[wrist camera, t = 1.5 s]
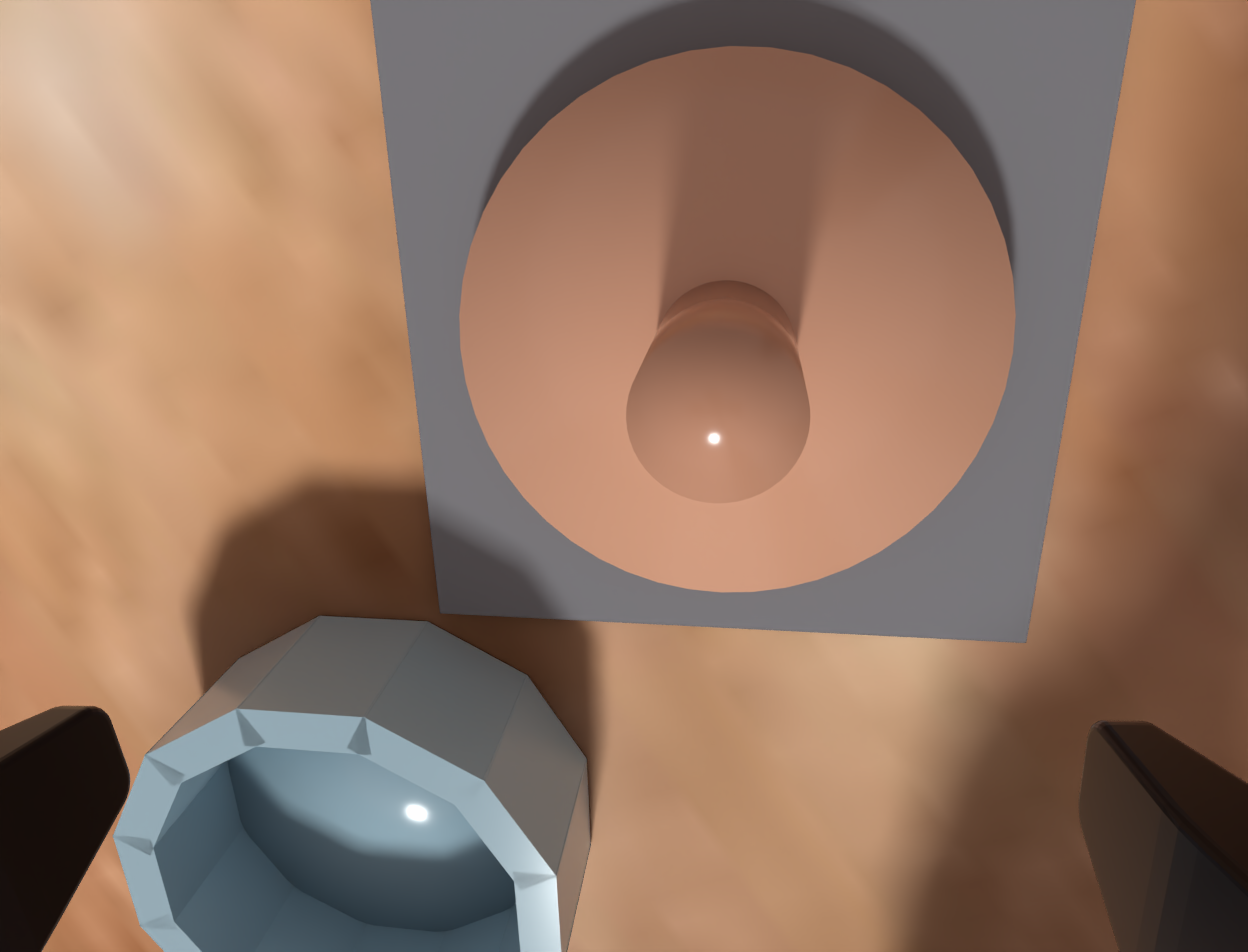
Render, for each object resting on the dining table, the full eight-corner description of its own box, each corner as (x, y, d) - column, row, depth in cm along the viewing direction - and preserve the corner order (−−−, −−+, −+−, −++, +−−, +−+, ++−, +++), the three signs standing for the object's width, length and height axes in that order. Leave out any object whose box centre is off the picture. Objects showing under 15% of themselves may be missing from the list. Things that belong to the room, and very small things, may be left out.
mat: (1136, -57, 15) (1146, -62, 15) (1021, 633, 20) (1025, 642, 20) (376, -19, 17) (367, -23, 17) (445, 605, 22) (440, 613, 22)
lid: (1040, 38, 16) (1180, -7, 10) (966, 581, 20) (1042, 738, 14) (449, 62, 17) (321, 32, 12) (494, 562, 21) (413, 698, 16)
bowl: (581, 628, 22) (547, 729, 18) (596, 949, 26) (570, 1084, 22) (178, 607, 23) (70, 696, 20) (250, 914, 27) (173, 1035, 24)
